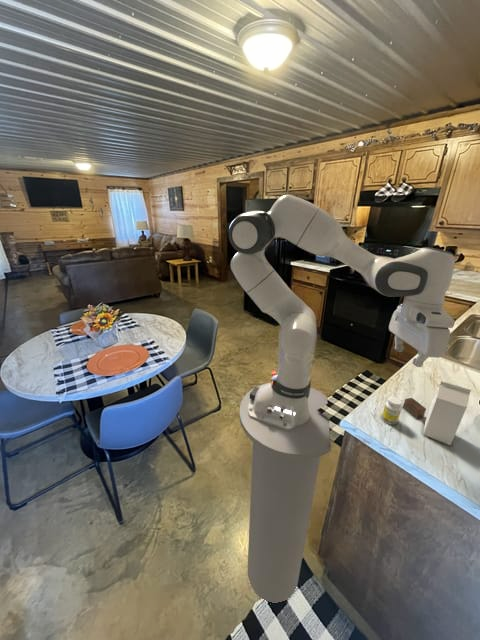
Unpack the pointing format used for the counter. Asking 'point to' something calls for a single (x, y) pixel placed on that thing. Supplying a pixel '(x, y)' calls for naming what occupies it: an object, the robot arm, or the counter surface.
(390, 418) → the supplement bottle
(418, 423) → the counter surface
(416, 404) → the brown wooden block
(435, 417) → the milk carton
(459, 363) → the counter surface
